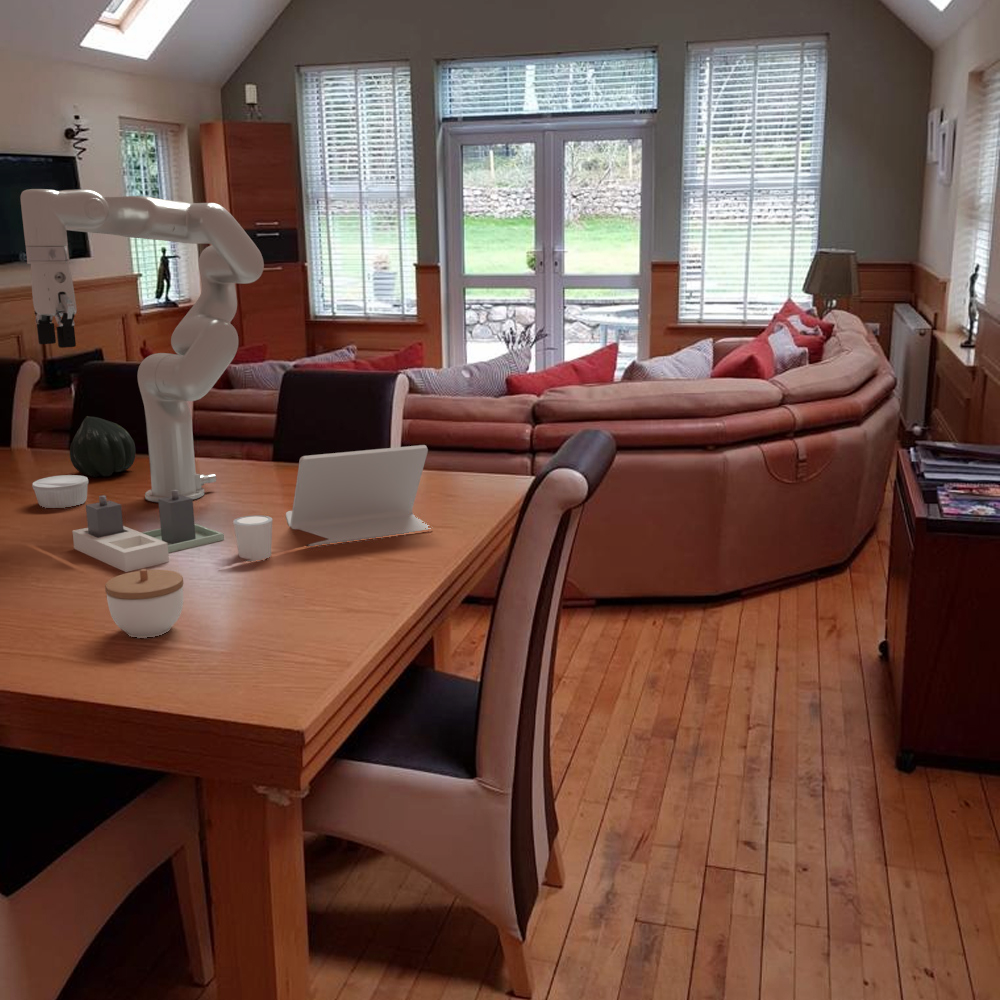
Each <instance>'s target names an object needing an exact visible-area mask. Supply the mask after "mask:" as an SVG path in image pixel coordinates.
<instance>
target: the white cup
mask: <svg viewBox="0 0 1000 1000" xmlns="http://www.w3.org/2000/svg"><path fill="white" fill-rule="evenodd" d="M232 522H233V527H234V534H235V539H236V546H237V551H238V557H240V558H242V559H245V560H246V561H256V560H263V559H266V558H269V557H270V556H271V557H272V540H273V517H271V516H267V515H259V514H258V515H247V516H241V517H237V518H235V519H233V521H232ZM271 557H270V558H271ZM270 558H269V559H270ZM246 561H245V562H246ZM263 561H264V560H263Z"/></svg>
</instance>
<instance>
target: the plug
mask: <svg viewBox="0 0 1000 1000" xmlns="http://www.w3.org/2000/svg"><path fill="white" fill-rule="evenodd" d="M171 493H172V496H171V497H166V498H161V499H158V502H157V503H158V510H159V511H158V512H159V522H160V524H159V525H160V528H161V536H162V541H165V542H168V543H170V544H176V543H180V542H185V541H189V540H193V539H196V536H195V524H196V523H195V512H194V501H193V500H194V499H192V498H189V497H186V496H182V495H178V490H172V491H171Z"/></svg>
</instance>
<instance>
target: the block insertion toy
mask: <svg viewBox="0 0 1000 1000" xmlns="http://www.w3.org/2000/svg"><path fill="white" fill-rule="evenodd" d="M98 498H99V502H94V503H89V504H85V510H86V511H85V512H86V521H87V527H85V528H80V529H74V530H72V538H73V549H74V550H76V551H78V552H81V553H83V554H85V555H87V556H89V557H92V558H94V559H96V560H99V561H100V562H103V563H104V564H107V565H109V566H112V567H114V568H115V569H118V570H121V571H123V572H125V573H129V572H134V571H138V570H141V569H146V568H149V567H153V566H157V565H161V564H166V563H169V562H170V558H169V557H170V555H169V553H168V543H166V542H164V541H161V540H159V539H156V538H153V537H151V536H148V535H146V534H143V533H142V532H140V531H138V530H136V529H132V528H130V527H127V526H125V525H124V522H123V521H124V519H123V512H122V504H120V503H117V502H115V501H112V500H107V495H104V494H103V495H99V496H98Z"/></svg>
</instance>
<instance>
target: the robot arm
mask: <svg viewBox="0 0 1000 1000" xmlns="http://www.w3.org/2000/svg"><path fill="white" fill-rule="evenodd" d="M20 205H21V206H20V207H21V217H22V224H23V225H22V226H23V227H22V228H23V235H24V243H25V252H26V253H25V254H26V262H27V265H30V278H31V279H30V281H31V283H30V284H31V293H32V304H33V308H34V315H35V324H36V329H37V337H38V340H37V341H38V344H39V345H50V344H51V345H52V344H56V342H57V346H58V348H61V349H63V348H64V349H65V348H75V347H76V346H77V343H76V333H75V320H74V319H75V316H76V314H77V311H78V310H77V303H76V295H75V289H74V282H73V278H72V273H71V269H70V265H69V264H70V255H69V254H70V253H69V246H68V245H69V243H68V236H67V235H68V233H67V231H72V232H82V233H90V234H91V233H93V234H102V235H103V234H104V235H111V236H112V235H113V236H118V237H124V238H131V239H142V240H143V239H145V240H151V241H152V240H154V241H156V240H157V241H163V242H164V241H165V242H172V243H173V242H174V243H178V244H190V245H191V244H193V245H195V244H196V245H197V244H200V245H202V244H203V245H204V244H207V245H208V244H210V245H209V246H206V247H205V248H204V249H203V250H202V252H200V256H199V260H198V269H199V274H200V278H201V292H200V294H199V297H198V298H197V299H196V301H195V303H194V304H193V305H192V307H191V308H190V309H189V310H188V312H187V313H186V315H185V316H184V317H183V318H182V319H181V321H179V323H178V325H177V326H176V327H175V328H174V331H173V332H172V334H171V338H170V345H171V347H172V349H173V351H174V353H166V352H159V353H152V354H150V355H148V356H147V357H145V358H144V359H143V360H142V361H141V363H140V365H139V366H138V370H137V383H138V388H139V392H140V395H141V399H142V403H143V406H144V415H145V423H146V436H147V437H146V439H147V448H148V460H149V461H148V462H149V471H150V482H151V483H150V485H151V489H148V490H147V491H146V492H145V494H144V496H145V500H146V501H149V502H154V503H159V502H158V499H161V498H166V497H171V496H172V493H171V491H172V490H178V495H182V496H186V497H189V498H192V499H193V500H196V499H197V500H198V499H200V498H202V497H203V496H204V495H205V488H203V487H202V486H204V485H205V484H212V483H216V482H217V476H216V474H215V473H209V474H199V473H197V471H196V461H195V449H194V435H193V420H192V413H191V409H190V405H189V403H188V402H195V401H198V400H201V399H202V398H203V397H205V396H206V395H207V394H208V393H209V392H210V391H211V389H212V388H213V387H214V386H215V384H216V383H217V382H218V380H219V379H221V376H222V375H223V374H224V372H225V371H226V369H228V367H229V365H230V364H231V363H232V362H233V360H234V358H235V356H236V354H237V351H238V348H239V336H238V331H237V329H236V328H235V326H233V325H234V324H231V323H232V320H233V319H234V318H235V315H236V313H237V307H238V299H237V291H236V286H235V284H242V285H243V284H245V285H246V284H252V283H254V282H256V281H258V280H259V279H260V277H261V276H262V274H263V272H264V267H265V263H264V258H263V256H262V253H261V251H260V249H259V248H258V247H257V245H256V243H255V242H254V241H253V240H252V239H251V237H250V236H249V235H248V234H247V232H246V231H245V229H244V228H243V227H242V226H241V224H240V223H239V222H238V221H237V219H235V217H234V216H233V215H232V214H231V212H229V211H228V210H227V209H226V208H225V207H223V206H222V205H221V204H218V203H216V202H197V203H196V202H186V201H179V200H170V199H164V198H157V197H151V196H144V195H139V196H138V195H128V196H126V195H125V196H104V195H102V194H100V193H99V192H97V191H95V190H93V189H85V188H84V189H83V188H81V189H80V188H79V189H63V190H55V189H45V188H31V189H25V190H23V191H22V192H21V194H20ZM53 317H54V318H55V321H56V324H57V325H58V326H56V328H55V323H54V322H53V319H54V318H53ZM55 330H56V331H55ZM56 334H57V335H56ZM56 336H57V338H56ZM175 353H176V354H175Z"/></svg>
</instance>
